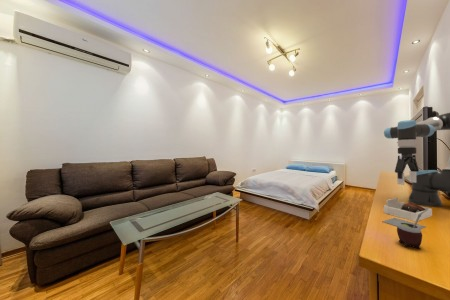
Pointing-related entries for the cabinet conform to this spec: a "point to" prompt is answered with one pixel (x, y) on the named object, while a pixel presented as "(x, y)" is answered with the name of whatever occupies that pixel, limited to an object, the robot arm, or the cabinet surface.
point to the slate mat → (397, 221)
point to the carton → (395, 209)
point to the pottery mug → (412, 207)
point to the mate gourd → (410, 233)
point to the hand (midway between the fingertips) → (407, 183)
